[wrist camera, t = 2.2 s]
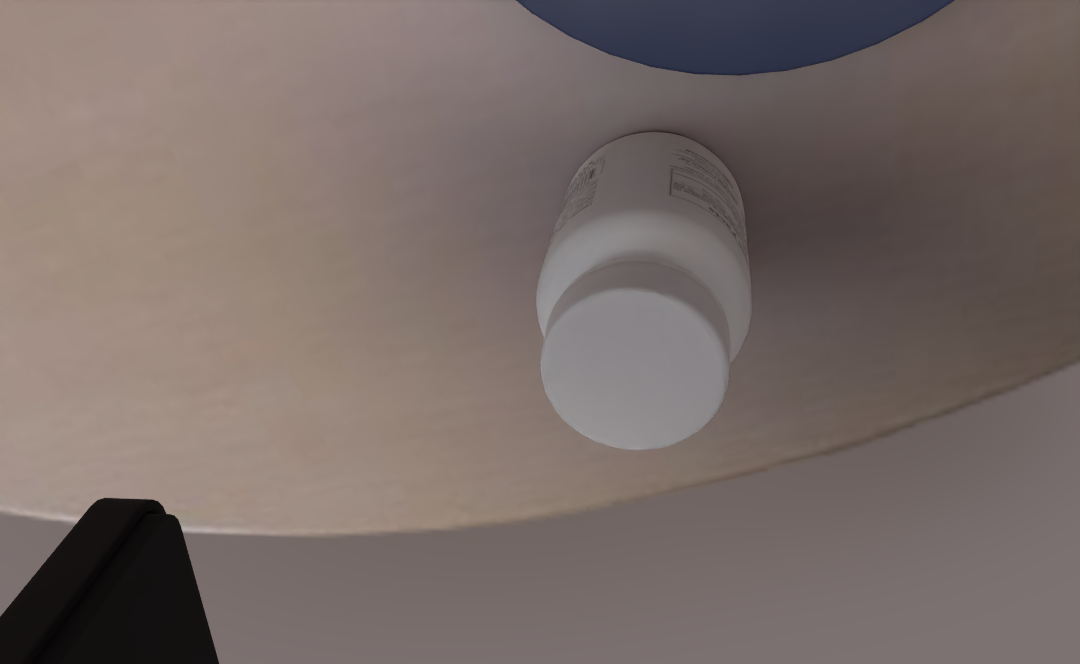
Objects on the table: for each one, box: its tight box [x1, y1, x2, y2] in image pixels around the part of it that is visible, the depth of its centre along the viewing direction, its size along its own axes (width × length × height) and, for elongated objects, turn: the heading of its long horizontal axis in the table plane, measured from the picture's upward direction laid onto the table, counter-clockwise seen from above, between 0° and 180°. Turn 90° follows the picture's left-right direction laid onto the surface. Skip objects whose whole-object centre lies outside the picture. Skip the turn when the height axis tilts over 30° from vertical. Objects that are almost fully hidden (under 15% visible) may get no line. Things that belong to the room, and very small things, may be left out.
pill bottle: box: [536, 132, 752, 450], centre depth 22 cm, size 4×4×8 cm
